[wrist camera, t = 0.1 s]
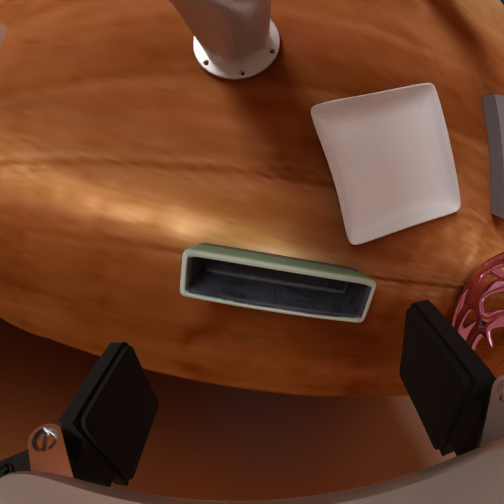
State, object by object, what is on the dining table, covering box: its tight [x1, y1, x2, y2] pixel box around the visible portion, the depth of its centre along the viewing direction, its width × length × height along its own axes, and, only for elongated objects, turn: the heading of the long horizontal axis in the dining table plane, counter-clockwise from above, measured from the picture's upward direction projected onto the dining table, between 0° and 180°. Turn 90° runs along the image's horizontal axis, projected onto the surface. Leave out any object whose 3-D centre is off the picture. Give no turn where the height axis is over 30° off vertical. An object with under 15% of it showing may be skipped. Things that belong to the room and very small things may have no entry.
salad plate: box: [311, 83, 461, 245], centre depth 40 cm, size 21×21×3 cm
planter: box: [180, 243, 376, 323], centre depth 44 cm, size 28×7×7 cm, turn 80°
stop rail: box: [482, 94, 504, 219], centre depth 37 cm, size 22×3×4 cm, turn 10°
